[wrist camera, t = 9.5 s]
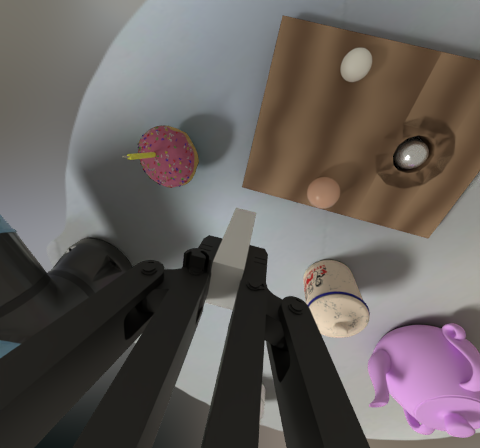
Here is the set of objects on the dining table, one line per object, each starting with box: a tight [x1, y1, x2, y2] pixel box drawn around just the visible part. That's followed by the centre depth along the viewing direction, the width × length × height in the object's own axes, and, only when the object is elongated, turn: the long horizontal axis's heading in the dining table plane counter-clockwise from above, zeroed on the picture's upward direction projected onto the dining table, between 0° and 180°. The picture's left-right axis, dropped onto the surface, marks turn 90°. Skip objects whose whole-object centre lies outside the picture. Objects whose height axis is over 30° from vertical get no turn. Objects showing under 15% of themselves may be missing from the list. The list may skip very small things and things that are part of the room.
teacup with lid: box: [303, 260, 370, 338], centre depth 37 cm, size 12×9×12 cm
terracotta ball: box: [307, 177, 340, 208], centre depth 30 cm, size 4×4×4 cm
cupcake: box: [122, 126, 199, 188], centre depth 30 cm, size 9×8×12 cm
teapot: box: [368, 323, 480, 437], centre depth 39 cm, size 22×22×14 cm
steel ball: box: [394, 140, 429, 169], centre depth 28 cm, size 4×4×4 cm
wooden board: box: [242, 16, 480, 238], centre depth 29 cm, size 28×20×2 cm
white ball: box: [340, 48, 372, 82], centre depth 24 cm, size 3×3×3 cm
